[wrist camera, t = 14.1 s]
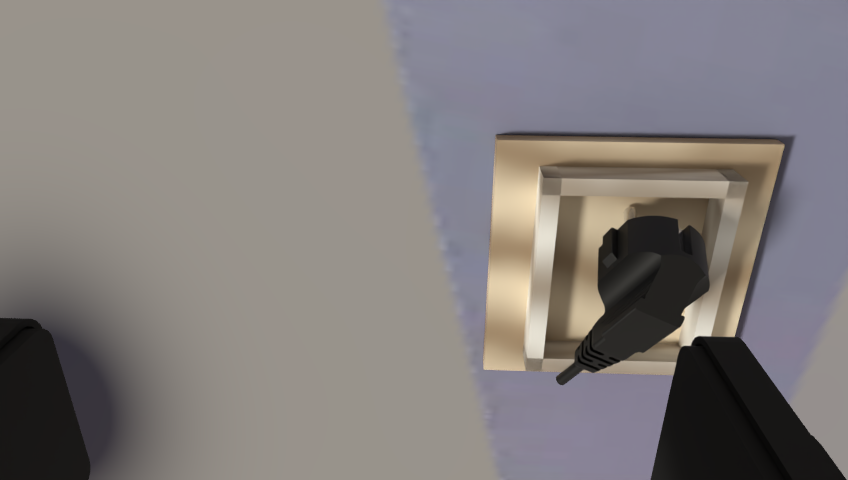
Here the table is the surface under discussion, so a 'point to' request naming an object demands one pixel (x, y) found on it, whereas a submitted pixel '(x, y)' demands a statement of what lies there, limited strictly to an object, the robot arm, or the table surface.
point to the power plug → (641, 289)
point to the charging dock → (604, 209)
